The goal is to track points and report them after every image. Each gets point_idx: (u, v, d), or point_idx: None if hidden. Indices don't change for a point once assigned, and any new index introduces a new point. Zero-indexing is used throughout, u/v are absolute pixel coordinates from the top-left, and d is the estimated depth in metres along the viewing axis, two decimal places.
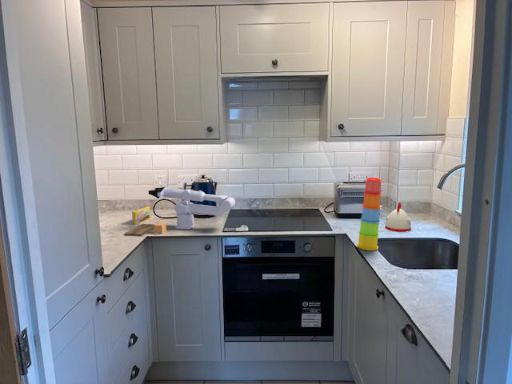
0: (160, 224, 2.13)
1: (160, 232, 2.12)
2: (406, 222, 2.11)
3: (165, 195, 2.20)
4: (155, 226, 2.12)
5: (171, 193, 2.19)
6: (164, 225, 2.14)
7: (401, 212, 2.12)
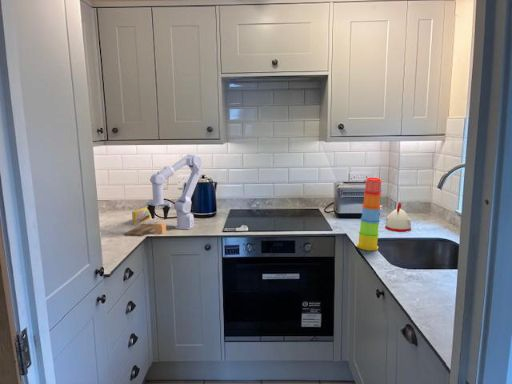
0: (160, 224, 2.13)
1: (160, 232, 2.12)
2: (406, 222, 2.11)
3: (163, 201, 2.12)
4: (155, 226, 2.12)
5: (159, 195, 2.08)
6: (164, 225, 2.14)
7: (401, 212, 2.12)
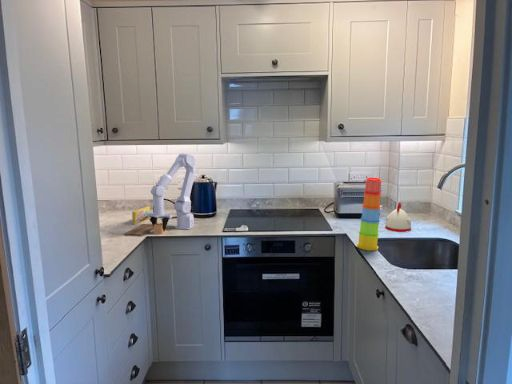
0: (160, 224, 2.13)
1: (160, 232, 2.12)
2: (406, 222, 2.11)
3: None
4: (155, 226, 2.12)
5: (160, 207, 2.09)
6: None
7: (401, 212, 2.12)
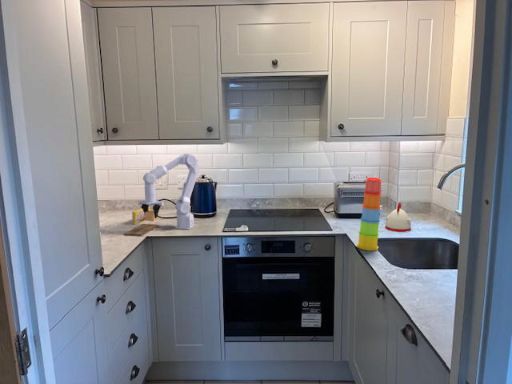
0: (151, 211, 2.13)
1: (151, 219, 2.12)
2: (406, 222, 2.11)
3: (155, 200, 2.13)
4: (146, 213, 2.12)
5: (150, 194, 2.09)
6: None
7: (401, 212, 2.12)
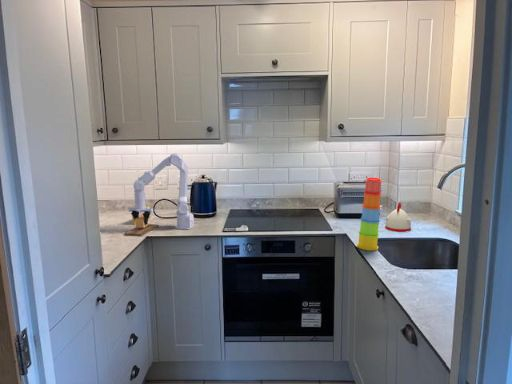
0: (141, 218, 2.16)
1: (141, 226, 2.15)
2: (406, 222, 2.11)
3: (145, 206, 2.16)
4: (136, 220, 2.15)
5: (139, 201, 2.12)
6: None
7: (401, 212, 2.12)
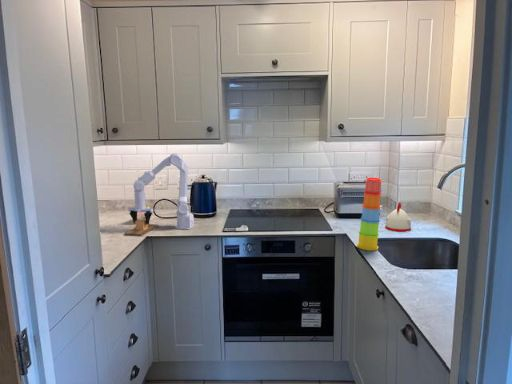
0: (141, 220, 2.16)
1: (141, 228, 2.15)
2: (406, 222, 2.11)
3: (145, 206, 2.16)
4: (136, 222, 2.15)
5: (139, 201, 2.12)
6: (145, 221, 2.17)
7: (401, 212, 2.12)
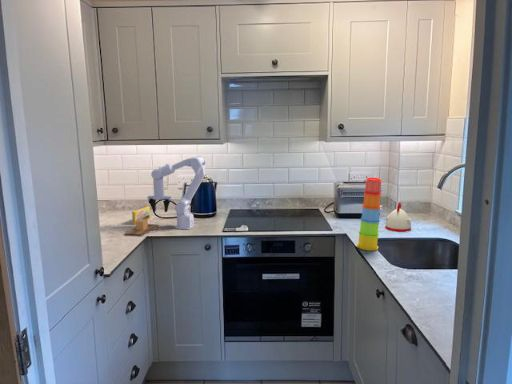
0: (141, 220, 2.16)
1: (141, 228, 2.15)
2: (406, 222, 2.11)
3: None
4: (136, 222, 2.15)
5: (156, 189, 2.19)
6: (145, 221, 2.17)
7: (401, 212, 2.12)
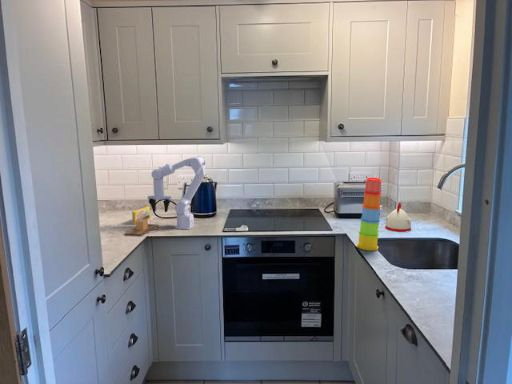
0: (141, 220, 2.16)
1: (141, 228, 2.15)
2: (406, 222, 2.11)
3: None
4: (136, 222, 2.15)
5: (156, 189, 2.19)
6: (145, 221, 2.17)
7: (401, 212, 2.12)
